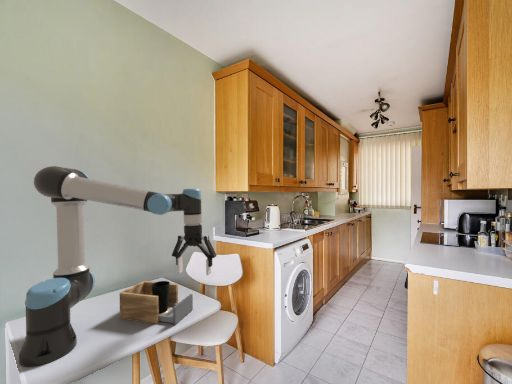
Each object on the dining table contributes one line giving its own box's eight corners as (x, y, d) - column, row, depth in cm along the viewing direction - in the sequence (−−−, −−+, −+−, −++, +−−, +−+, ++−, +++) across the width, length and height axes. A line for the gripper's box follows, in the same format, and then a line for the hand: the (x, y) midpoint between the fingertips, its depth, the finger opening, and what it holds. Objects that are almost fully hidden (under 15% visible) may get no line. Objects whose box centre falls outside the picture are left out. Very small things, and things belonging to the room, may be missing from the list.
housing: (156, 323, 101) (156, 297, 101) (119, 318, 106) (119, 293, 106) (178, 307, 115) (177, 284, 115) (144, 303, 120) (144, 280, 120)
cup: (163, 315, 104) (163, 287, 104) (148, 314, 106) (147, 286, 106) (173, 307, 112) (172, 281, 112) (158, 306, 113) (158, 280, 113)
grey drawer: (175, 324, 99) (175, 307, 99) (138, 319, 104) (138, 302, 104) (192, 309, 112) (192, 294, 112) (159, 305, 117) (159, 290, 117)
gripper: (223, 223, 105) (224, 272, 105) (172, 223, 112) (174, 269, 112) (215, 225, 98) (217, 278, 98) (162, 225, 105) (163, 274, 104)
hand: (194, 273), depth 105 cm, fingers open, 13 cm apart
